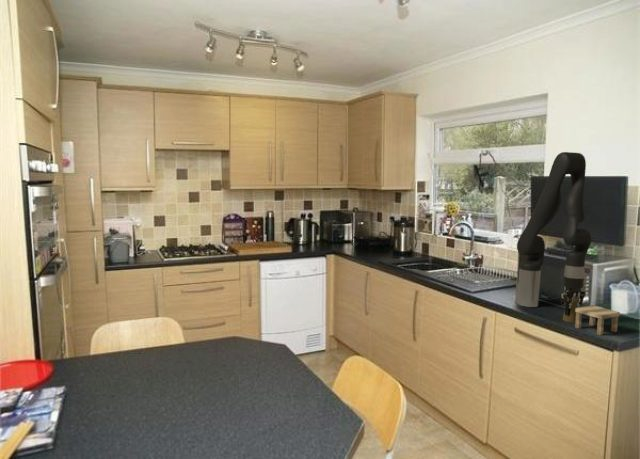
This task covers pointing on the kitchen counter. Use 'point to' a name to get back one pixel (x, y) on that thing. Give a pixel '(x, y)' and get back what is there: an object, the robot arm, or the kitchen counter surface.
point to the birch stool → (597, 313)
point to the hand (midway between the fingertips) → (570, 315)
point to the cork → (572, 311)
